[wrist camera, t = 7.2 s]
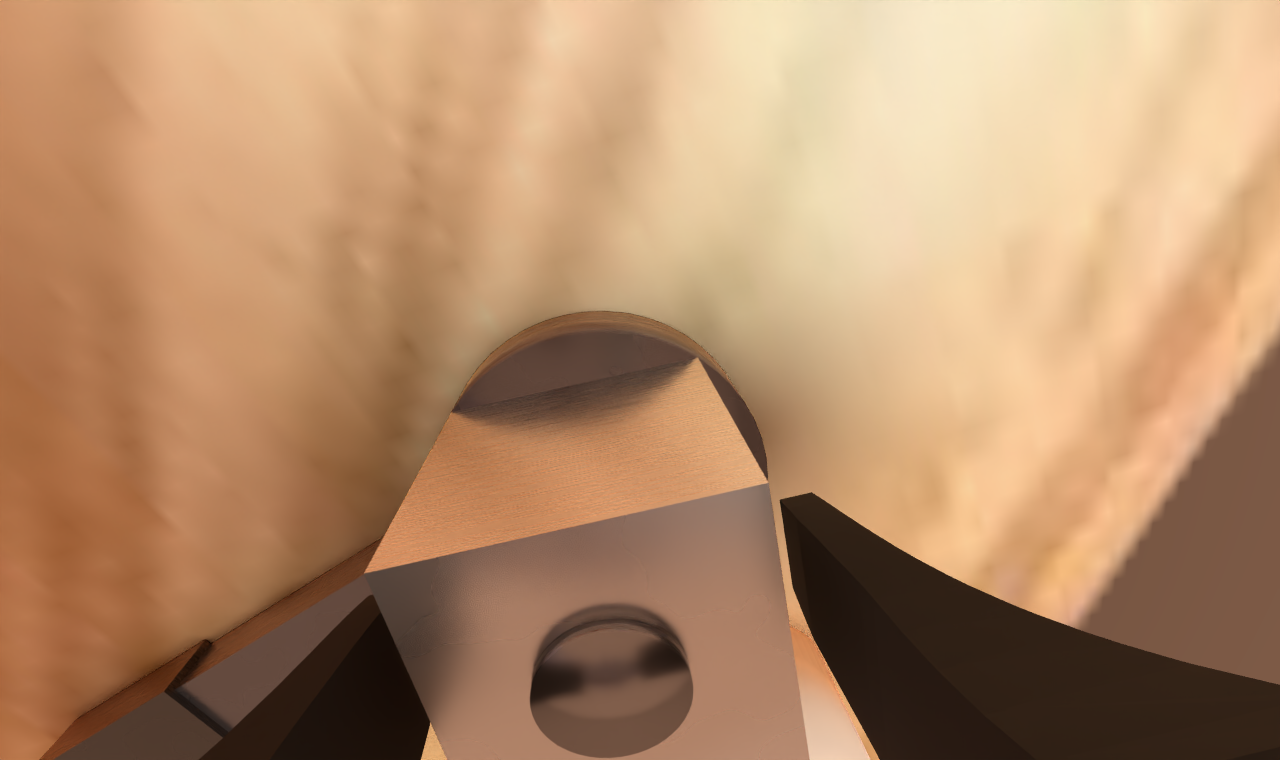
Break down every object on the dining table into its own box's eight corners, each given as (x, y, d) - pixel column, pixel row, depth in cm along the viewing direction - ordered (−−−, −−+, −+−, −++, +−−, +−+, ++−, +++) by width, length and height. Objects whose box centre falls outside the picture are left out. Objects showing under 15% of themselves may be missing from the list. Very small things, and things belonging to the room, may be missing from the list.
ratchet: (124, 784, 19) (-10, 965, 15) (-111, 468, 15) (-388, 591, 11) (780, 633, 19) (836, 769, 15) (722, 279, 15) (775, 325, 11)
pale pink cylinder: (701, 740, 20) (726, 871, 17) (676, 640, 19) (699, 759, 15) (828, 710, 20) (883, 834, 17) (814, 608, 19) (871, 719, 15)
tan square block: (519, 609, 15) (481, 862, 10) (451, 412, 13) (355, 588, 8) (735, 561, 15) (817, 785, 10) (697, 357, 13) (775, 494, 8)
